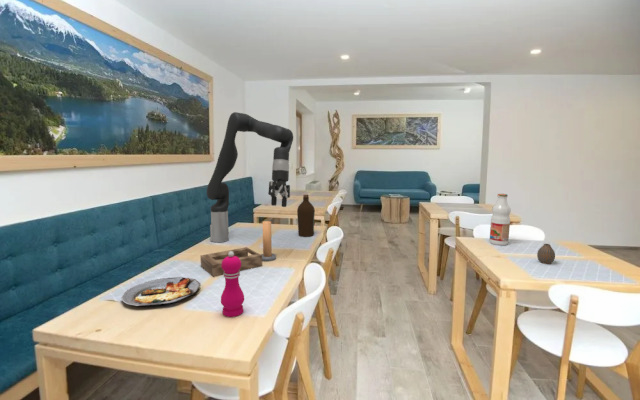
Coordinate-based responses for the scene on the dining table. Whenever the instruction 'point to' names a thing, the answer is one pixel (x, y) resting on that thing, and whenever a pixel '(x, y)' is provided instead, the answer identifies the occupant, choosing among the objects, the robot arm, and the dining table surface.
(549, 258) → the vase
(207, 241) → the dining table surface
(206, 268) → the keyhole base
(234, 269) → the pepper mill
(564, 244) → the dining table surface
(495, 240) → the fruit juice
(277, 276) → the dining table surface
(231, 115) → the robot arm
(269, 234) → the peg
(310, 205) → the olive oil
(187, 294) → the food plate
